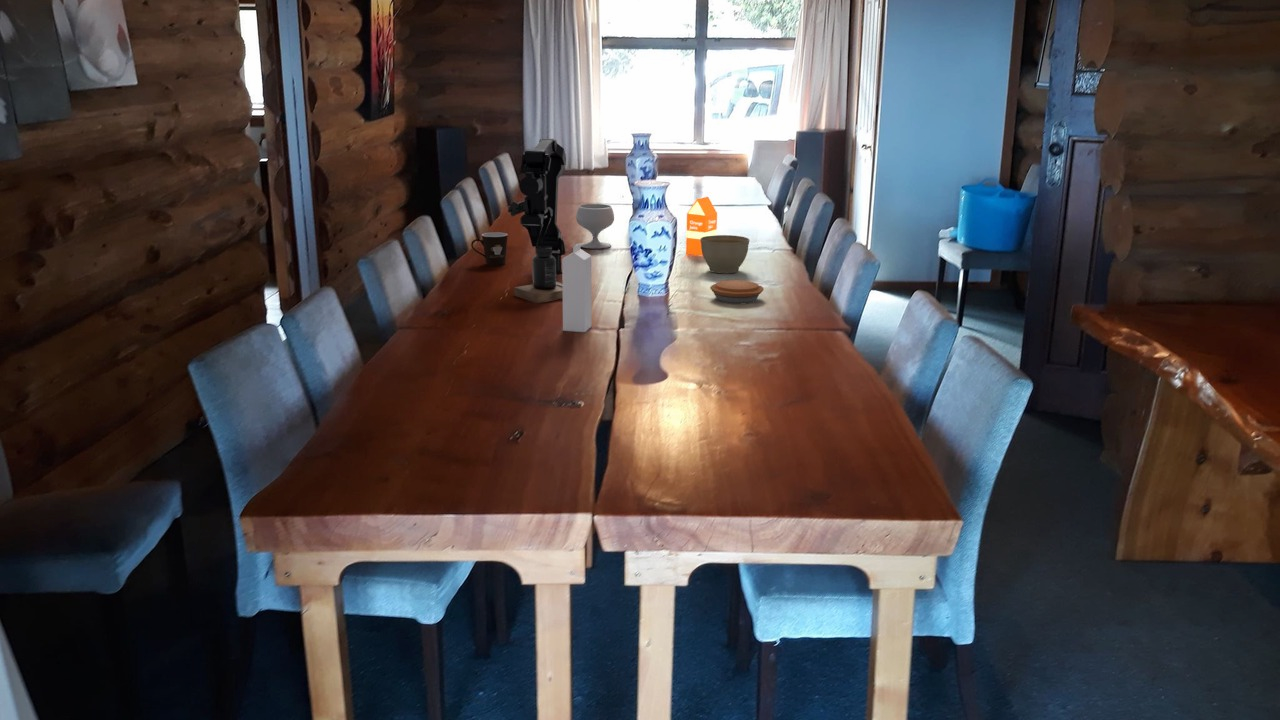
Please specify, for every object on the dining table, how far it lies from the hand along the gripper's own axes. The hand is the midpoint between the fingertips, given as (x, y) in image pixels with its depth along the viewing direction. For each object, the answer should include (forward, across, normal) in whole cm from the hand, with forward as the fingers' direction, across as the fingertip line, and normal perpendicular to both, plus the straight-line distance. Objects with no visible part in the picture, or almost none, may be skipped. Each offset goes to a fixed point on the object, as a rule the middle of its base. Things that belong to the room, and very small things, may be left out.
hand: (537, 243), depth 310 cm
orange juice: (+13, -62, +47) cm, 79 cm away
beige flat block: (+13, +13, +5) cm, 19 cm away
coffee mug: (+13, -31, -23) cm, 41 cm away
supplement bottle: (+11, +13, +5) cm, 18 cm away
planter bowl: (+13, -32, +56) cm, 66 cm away
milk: (+13, +49, +21) cm, 55 cm away
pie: (+13, +8, +61) cm, 63 cm away
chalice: (+13, -69, +7) cm, 71 cm away
